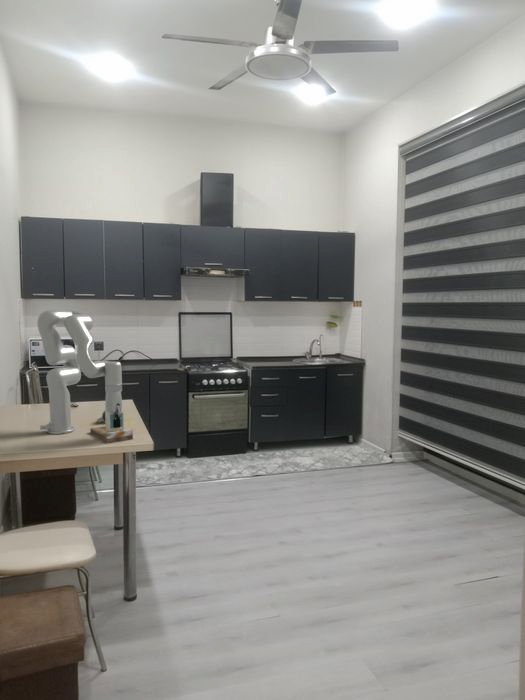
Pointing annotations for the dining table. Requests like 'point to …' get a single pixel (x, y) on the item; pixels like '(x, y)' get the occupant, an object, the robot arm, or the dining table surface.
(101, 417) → the ceramic mug
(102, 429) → the shelf board
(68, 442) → the dining table surface
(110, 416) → the carton
